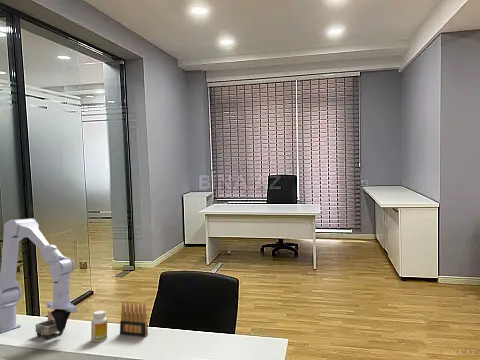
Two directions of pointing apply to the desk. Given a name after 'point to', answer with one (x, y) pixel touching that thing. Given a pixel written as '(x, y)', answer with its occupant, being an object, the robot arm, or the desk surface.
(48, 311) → the block
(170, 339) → the desk surface
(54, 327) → the cart
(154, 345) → the desk surface
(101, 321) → the supplement bottle
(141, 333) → the ammunition clip
